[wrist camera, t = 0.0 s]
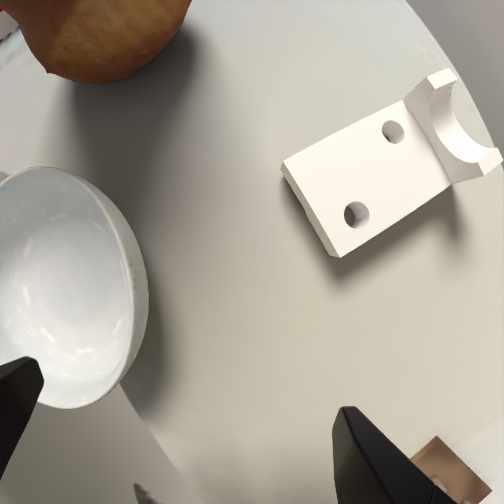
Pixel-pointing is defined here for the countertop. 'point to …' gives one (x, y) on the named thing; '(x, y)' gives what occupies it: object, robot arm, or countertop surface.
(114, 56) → the butternut squash
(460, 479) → the post board
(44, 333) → the cereal bowl
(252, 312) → the countertop surface
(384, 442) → the robot arm
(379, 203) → the bracket
